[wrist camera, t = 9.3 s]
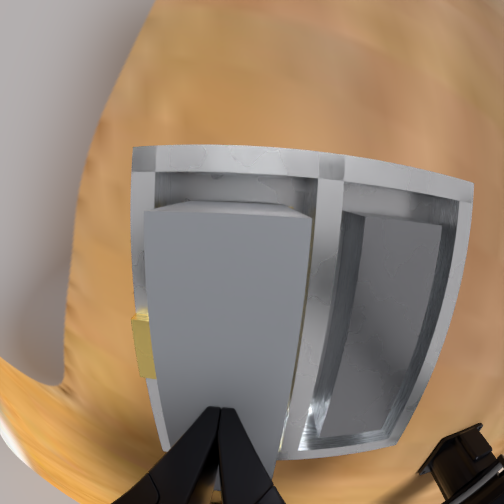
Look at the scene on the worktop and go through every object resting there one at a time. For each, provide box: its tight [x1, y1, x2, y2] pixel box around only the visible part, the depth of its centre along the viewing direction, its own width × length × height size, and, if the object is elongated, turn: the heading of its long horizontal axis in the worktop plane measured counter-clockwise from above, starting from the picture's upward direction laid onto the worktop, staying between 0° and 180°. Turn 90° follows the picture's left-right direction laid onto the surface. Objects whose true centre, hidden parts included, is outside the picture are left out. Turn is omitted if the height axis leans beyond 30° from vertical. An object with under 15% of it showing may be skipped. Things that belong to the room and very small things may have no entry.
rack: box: [131, 145, 474, 460], centre depth 13 cm, size 16×15×4 cm
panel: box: [144, 200, 312, 491], centre depth 11 cm, size 12×4×6 cm, turn 177°
